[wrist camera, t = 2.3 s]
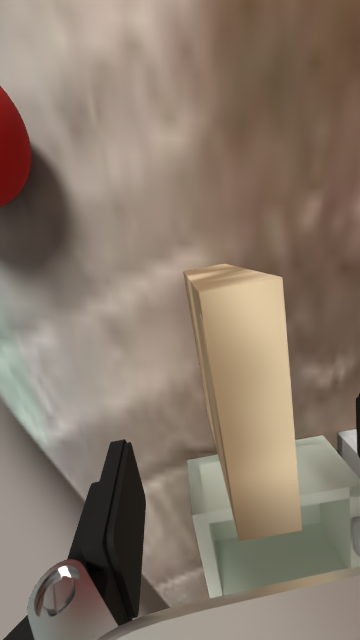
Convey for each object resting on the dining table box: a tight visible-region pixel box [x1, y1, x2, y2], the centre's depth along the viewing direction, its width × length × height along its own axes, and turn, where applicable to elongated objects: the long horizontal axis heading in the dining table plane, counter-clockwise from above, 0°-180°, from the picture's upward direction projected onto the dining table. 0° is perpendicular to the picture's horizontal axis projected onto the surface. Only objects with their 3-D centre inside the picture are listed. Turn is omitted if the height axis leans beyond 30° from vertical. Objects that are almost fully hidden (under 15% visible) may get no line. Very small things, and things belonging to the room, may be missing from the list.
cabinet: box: [187, 429, 360, 598], centre depth 22 cm, size 19×18×6 cm
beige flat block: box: [183, 264, 302, 542], centre depth 16 cm, size 3×12×10 cm, turn 10°
